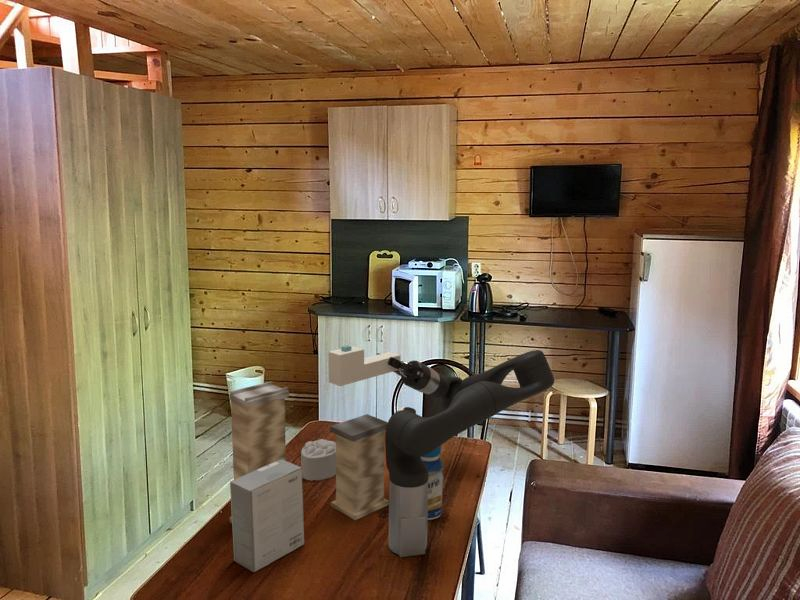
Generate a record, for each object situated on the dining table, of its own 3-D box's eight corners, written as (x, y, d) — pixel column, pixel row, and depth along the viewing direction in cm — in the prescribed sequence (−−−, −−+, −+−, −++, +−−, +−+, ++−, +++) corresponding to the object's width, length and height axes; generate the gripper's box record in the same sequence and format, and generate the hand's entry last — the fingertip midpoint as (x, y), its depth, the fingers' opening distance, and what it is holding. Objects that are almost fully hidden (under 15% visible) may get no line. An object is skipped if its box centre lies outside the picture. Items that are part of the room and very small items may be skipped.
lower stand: (365, 491, 185) (365, 413, 181) (390, 504, 178) (391, 423, 174) (329, 507, 176) (328, 425, 172) (353, 521, 169) (353, 436, 165)
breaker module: (388, 365, 181) (389, 334, 179) (400, 369, 178) (400, 337, 176) (328, 382, 166) (328, 347, 165) (340, 386, 163) (339, 351, 162)
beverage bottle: (445, 507, 177) (447, 437, 173) (438, 523, 169) (440, 450, 165) (415, 503, 179) (416, 433, 175) (406, 518, 171) (408, 445, 167)
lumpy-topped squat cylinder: (345, 466, 201) (345, 440, 200) (322, 484, 190) (322, 455, 188) (316, 460, 206) (316, 433, 204) (292, 476, 194) (292, 448, 193)
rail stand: (272, 504, 177) (269, 380, 171) (292, 516, 171) (290, 388, 165) (229, 521, 168) (224, 391, 162) (248, 535, 162) (244, 400, 156)
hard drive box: (284, 533, 163) (282, 458, 159) (305, 544, 158) (304, 467, 155) (232, 561, 151) (229, 480, 147) (253, 574, 146) (250, 490, 143)
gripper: (434, 396, 182) (396, 377, 170) (398, 384, 192) (360, 366, 180) (444, 370, 183) (406, 350, 171) (407, 360, 193) (370, 340, 181)
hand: (383, 358), depth 176 cm, fingers closed on breaker module, 4 cm apart
